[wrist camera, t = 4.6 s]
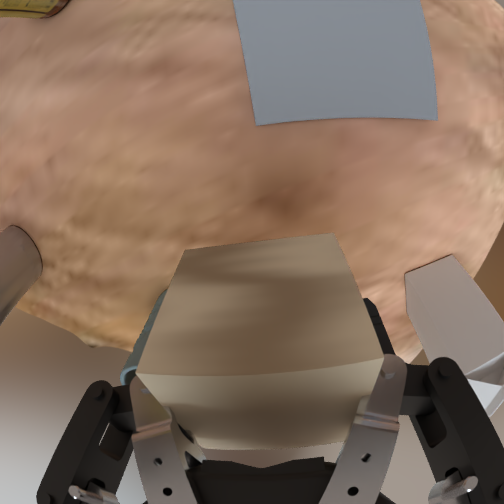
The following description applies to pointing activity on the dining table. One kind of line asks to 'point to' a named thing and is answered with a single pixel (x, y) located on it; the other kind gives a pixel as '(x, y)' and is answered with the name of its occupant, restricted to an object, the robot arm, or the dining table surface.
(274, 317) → the beech cube
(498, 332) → the milk carton
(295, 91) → the base board
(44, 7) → the sauce bottle
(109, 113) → the dining table surface
